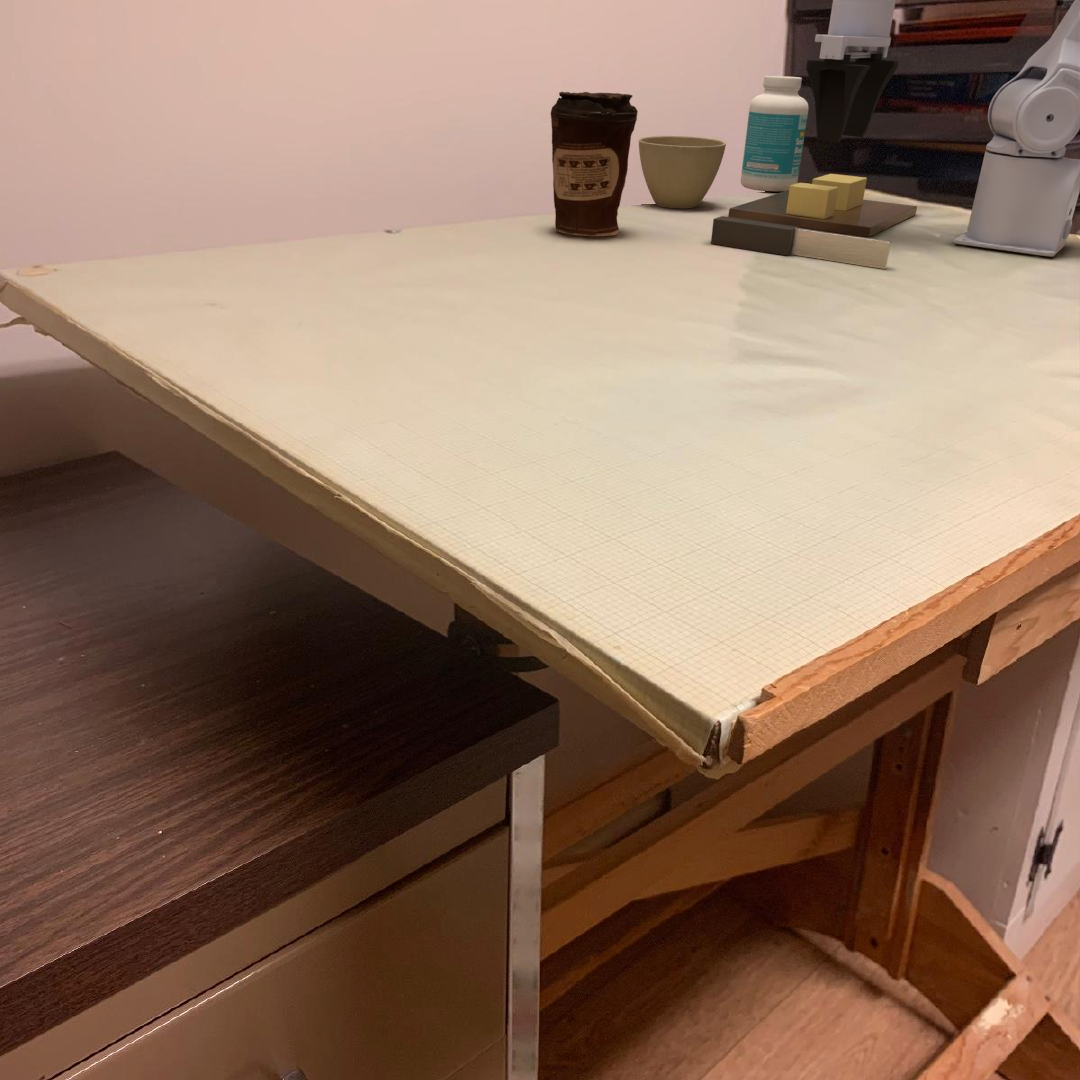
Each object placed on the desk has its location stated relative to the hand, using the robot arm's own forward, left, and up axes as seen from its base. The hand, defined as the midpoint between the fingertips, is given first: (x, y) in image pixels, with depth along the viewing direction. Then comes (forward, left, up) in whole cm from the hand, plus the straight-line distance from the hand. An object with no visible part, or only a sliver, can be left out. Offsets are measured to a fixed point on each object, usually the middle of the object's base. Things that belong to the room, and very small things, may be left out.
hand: (841, 138), depth 99 cm
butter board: (+4, -11, -9) cm, 15 cm away
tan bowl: (+20, -5, -10) cm, 23 cm away
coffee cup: (+19, +17, -10) cm, 27 cm away
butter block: (+4, -13, -8) cm, 16 cm away
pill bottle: (+17, -26, -10) cm, 33 cm away
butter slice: (+4, -4, -8) cm, 10 cm away
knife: (-1, +12, -9) cm, 15 cm away
